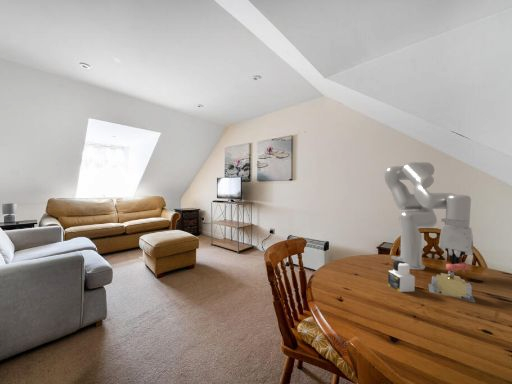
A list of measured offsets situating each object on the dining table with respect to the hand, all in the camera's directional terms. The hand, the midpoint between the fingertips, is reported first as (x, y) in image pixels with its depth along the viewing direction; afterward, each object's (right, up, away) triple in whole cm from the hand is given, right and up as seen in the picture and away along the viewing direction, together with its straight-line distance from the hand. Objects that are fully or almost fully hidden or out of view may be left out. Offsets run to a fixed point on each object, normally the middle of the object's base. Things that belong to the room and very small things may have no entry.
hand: (454, 264), depth 93 cm
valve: (-5, -11, -3) cm, 13 cm away
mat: (-4, -12, -3) cm, 13 cm away
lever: (-2, -1, -3) cm, 4 cm away
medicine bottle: (-22, -12, +2) cm, 25 cm away
